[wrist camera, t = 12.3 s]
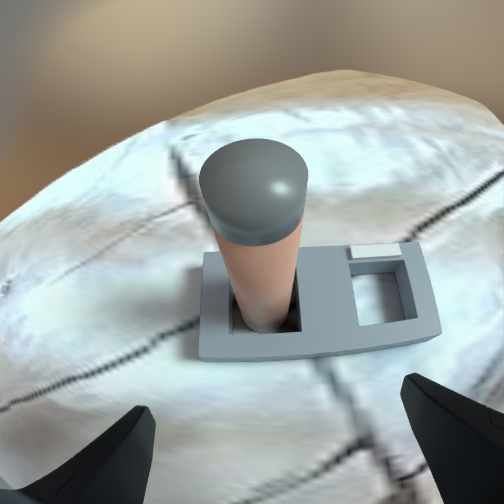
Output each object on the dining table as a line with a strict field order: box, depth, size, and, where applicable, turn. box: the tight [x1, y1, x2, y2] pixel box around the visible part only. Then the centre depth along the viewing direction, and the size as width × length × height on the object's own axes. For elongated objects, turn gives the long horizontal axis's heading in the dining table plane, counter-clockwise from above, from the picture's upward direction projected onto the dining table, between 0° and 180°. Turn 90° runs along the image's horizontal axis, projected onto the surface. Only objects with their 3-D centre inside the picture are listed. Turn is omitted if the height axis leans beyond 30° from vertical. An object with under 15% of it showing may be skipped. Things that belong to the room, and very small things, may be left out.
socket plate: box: [199, 242, 442, 362], centre depth 22 cm, size 20×9×3 cm, turn 91°
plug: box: [199, 139, 308, 333], centre depth 17 cm, size 4×4×16 cm
